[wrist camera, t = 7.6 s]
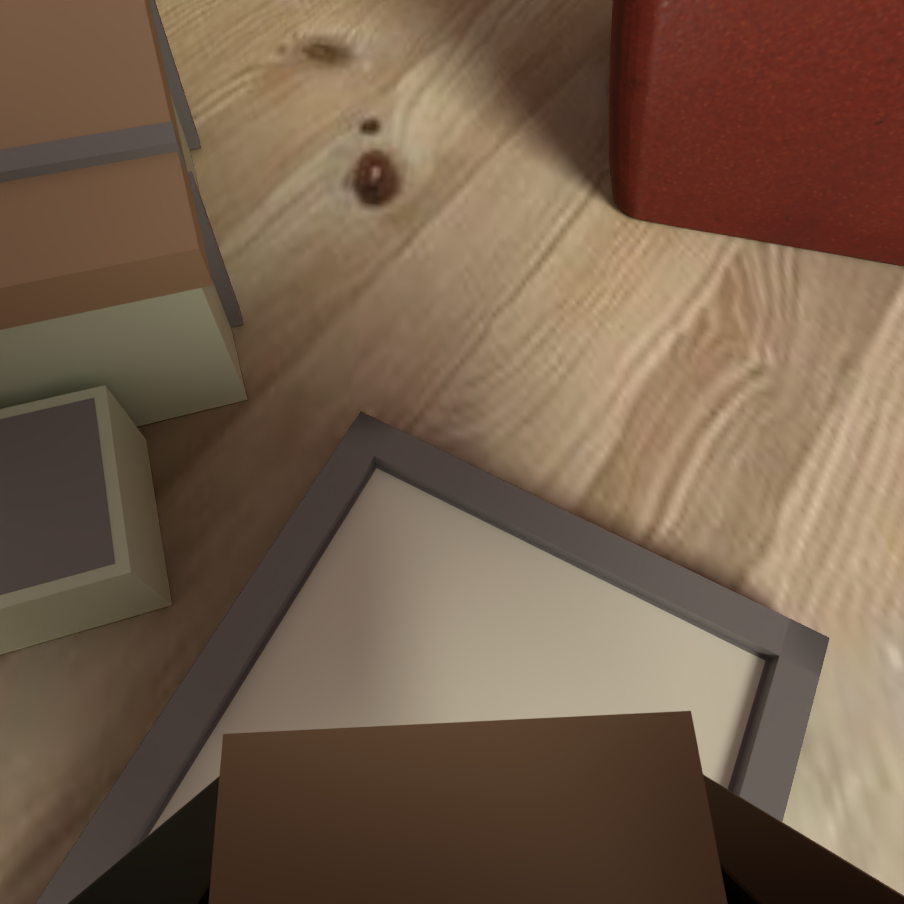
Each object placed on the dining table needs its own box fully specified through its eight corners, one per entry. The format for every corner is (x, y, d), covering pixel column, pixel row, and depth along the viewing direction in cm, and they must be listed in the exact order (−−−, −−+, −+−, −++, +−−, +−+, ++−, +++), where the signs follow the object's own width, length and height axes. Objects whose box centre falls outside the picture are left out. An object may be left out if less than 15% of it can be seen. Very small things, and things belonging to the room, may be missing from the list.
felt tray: (799, 649, 19) (829, 638, 17) (536, 1604, 11) (553, 1714, 10) (363, 436, 21) (360, 411, 19) (-89, 1136, 13) (-143, 1174, 12)
